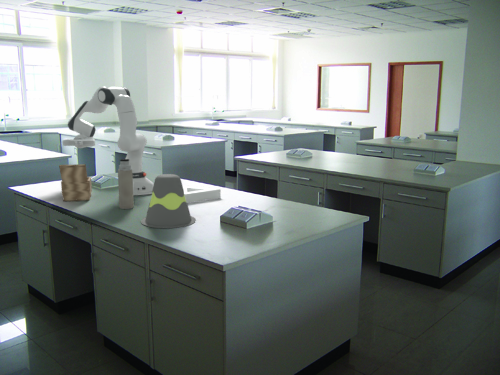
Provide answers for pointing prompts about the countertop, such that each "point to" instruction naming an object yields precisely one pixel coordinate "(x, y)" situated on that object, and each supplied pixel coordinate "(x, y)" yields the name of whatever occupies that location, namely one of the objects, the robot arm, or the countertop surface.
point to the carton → (76, 190)
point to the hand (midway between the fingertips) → (78, 143)
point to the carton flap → (73, 173)
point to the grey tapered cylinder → (168, 204)
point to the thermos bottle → (125, 185)
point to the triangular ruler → (200, 194)
